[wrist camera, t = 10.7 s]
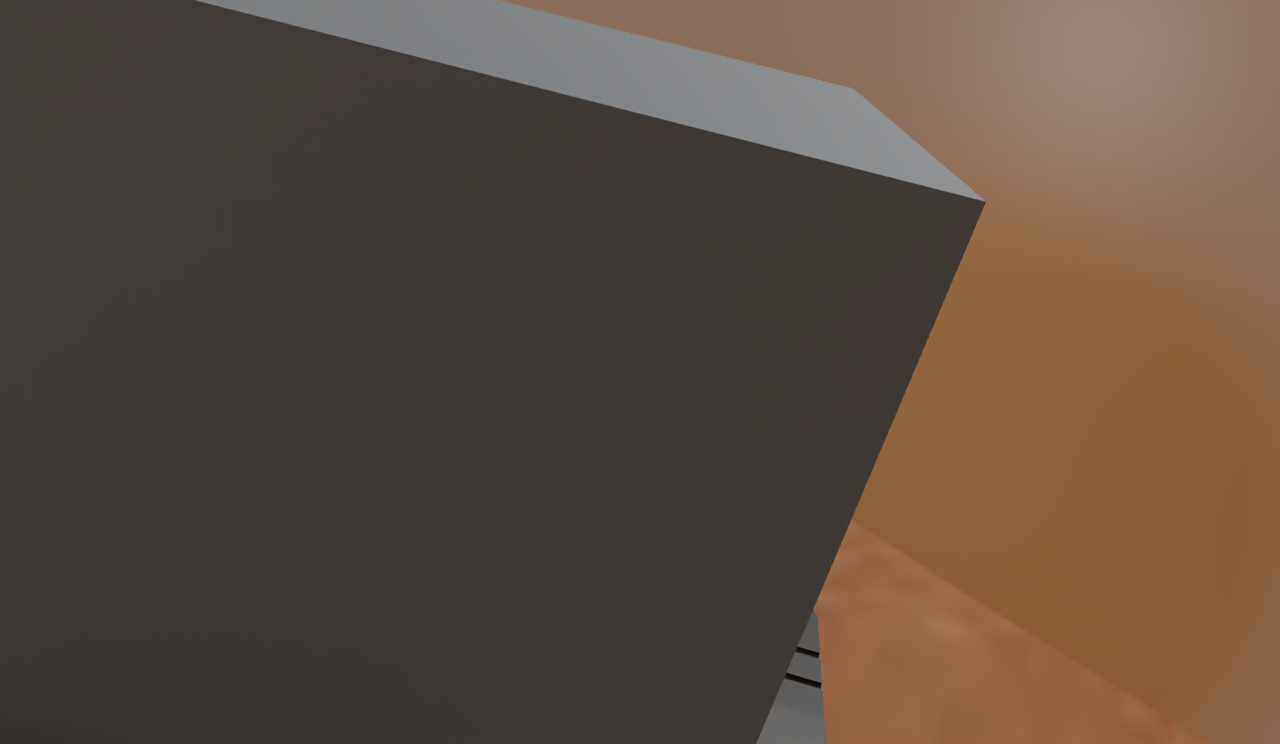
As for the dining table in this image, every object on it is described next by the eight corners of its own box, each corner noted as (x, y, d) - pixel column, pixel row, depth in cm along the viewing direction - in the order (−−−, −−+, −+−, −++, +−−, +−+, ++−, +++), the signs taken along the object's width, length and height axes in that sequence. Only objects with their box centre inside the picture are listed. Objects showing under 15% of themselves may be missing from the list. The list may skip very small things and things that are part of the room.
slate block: (580, 929, 13) (854, 88, 7) (480, 1396, 9) (985, 200, 3) (306, 845, 13) (345, -38, 7) (72, 1255, 9) (-323, -132, 3)
